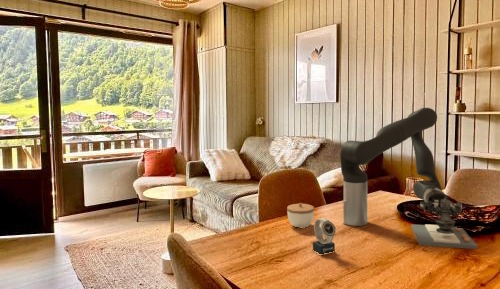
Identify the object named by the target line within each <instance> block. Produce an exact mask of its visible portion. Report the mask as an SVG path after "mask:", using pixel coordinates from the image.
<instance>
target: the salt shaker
mask: <svg viewBox="0 0 500 289" xmlns="http://www.w3.org/2000/svg"><path fill="white" fill-rule="evenodd" d="M449 200H450V199H449ZM449 200H447V199H446V197H445V199H443V200H441V210H442V216H439V217H437V218H435V222H436V225H438V226H439V227H440V228H438V229H436V231H438V232H440V233H444V234H452V233H454V231H453V230H452V229H451V228H452V227H455V224H456V221H455V220H453V219H452V218H451V214H450V212H451V211H452V210H451V209H450V201H451V200H450V201H449Z"/></svg>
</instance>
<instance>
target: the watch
mask: <svg viewBox="0 0 500 289" xmlns="http://www.w3.org/2000/svg"><path fill="white" fill-rule="evenodd" d="M313 229H314V230H313V231H314V234H315V238H316V241H313V242H312V251H313V250H314V251H316V252H318V253H319V254H324V253H329V252H333V251H335V252H336V250H335V246H336V244H335V242H334V238H335V234H336V226H335V224H334V223H333V222H332V221H330V220H329V219H327V218H325V217H322V218H317V219H316V220H315V221H314V224H313Z"/></svg>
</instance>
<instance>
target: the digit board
mask: <svg viewBox="0 0 500 289" xmlns="http://www.w3.org/2000/svg"><path fill="white" fill-rule="evenodd" d="M410 225H411V226H410V227H411V230H412V232H413V234H414V236H415V239H416V241H417V243H418V245H419V246H425V247H426V246H429V247H442V248H443V247H444V248H454V249H455V248H458V249H472V250H478V244H477V243H476V242H475V241H474V240H473V238H472V237H471V236H469V234H468V233H467V231H466V230H465V229H464V228H457V227H458V226H453V227H452V228H451V229H452V230H453V231H454V233H452V234H444V233H440V232H438V231H436V229H438V228H440V227H439V226H438V225H437V224H428V223H427V224H413V223H412V224H410Z"/></svg>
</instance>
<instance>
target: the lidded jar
mask: <svg viewBox="0 0 500 289" xmlns="http://www.w3.org/2000/svg"><path fill="white" fill-rule="evenodd" d="M286 212H287V218H288V221H289V223H290V225H292V226H295V227H302V228H303V229H305V228H304V227H307V228H309V227H308V226H310V225H311V224H312V223H313V220H314V215H315V207H314V206H313V205H311V204H308V203H302V202H299V203H293V204H289V205H287V208H286ZM295 227H294V228H295Z"/></svg>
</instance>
